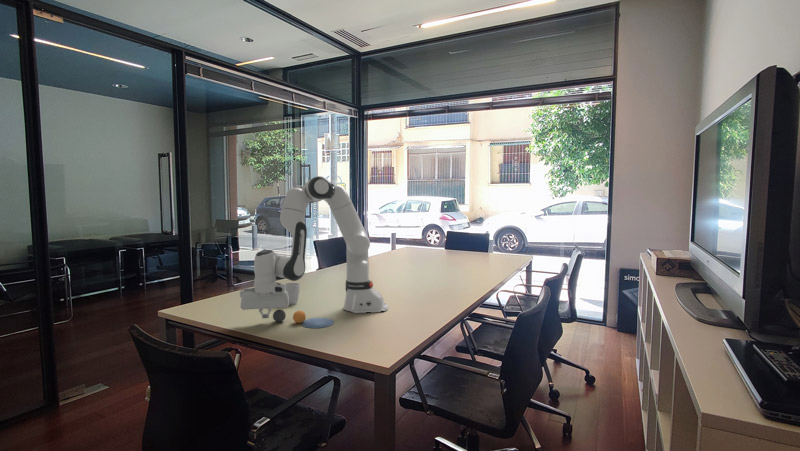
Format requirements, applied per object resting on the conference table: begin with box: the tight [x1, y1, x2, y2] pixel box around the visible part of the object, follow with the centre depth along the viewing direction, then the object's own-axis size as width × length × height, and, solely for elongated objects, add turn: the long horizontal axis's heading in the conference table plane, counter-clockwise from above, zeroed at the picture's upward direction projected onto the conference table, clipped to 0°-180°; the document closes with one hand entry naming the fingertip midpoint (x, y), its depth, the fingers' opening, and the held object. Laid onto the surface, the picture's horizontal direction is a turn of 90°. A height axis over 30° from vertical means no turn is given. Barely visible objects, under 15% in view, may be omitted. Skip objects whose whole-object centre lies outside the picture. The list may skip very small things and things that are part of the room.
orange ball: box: [292, 310, 307, 324], centre depth 174 cm, size 6×6×6 cm
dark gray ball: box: [272, 308, 287, 323], centre depth 175 cm, size 6×6×6 cm
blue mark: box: [300, 317, 335, 329], centre depth 174 cm, size 14×14×1 cm
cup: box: [284, 282, 301, 305], centre depth 205 cm, size 8×8×10 cm
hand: (265, 318), depth 174 cm, fingers closed
